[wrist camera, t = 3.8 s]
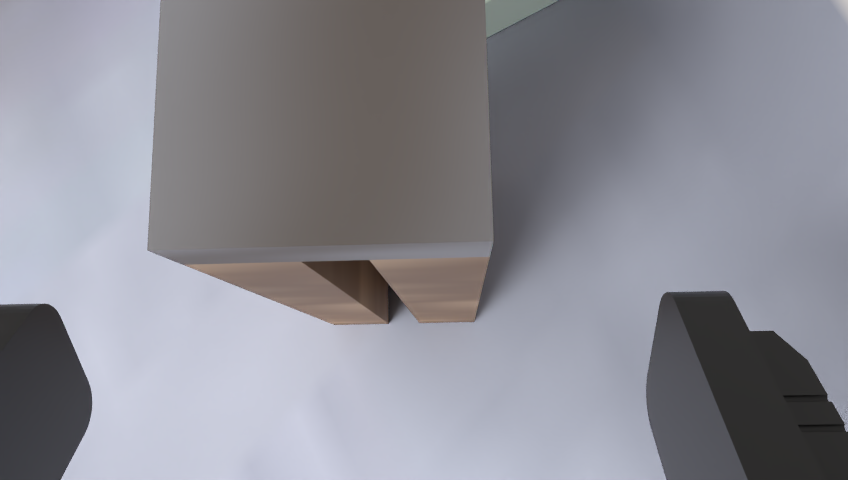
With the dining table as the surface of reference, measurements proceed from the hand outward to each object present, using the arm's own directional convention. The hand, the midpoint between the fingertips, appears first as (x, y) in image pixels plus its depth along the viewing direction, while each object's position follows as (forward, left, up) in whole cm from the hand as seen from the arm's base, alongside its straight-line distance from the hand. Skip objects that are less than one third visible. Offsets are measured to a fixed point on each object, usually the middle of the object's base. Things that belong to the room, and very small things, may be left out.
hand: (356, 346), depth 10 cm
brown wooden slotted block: (-2, +2, -9) cm, 9 cm away
